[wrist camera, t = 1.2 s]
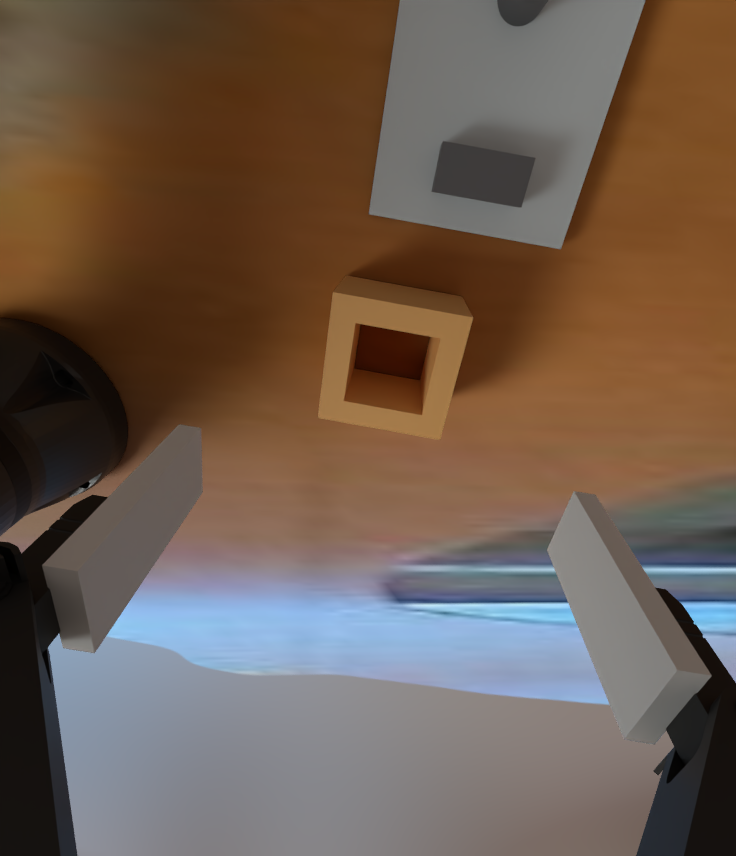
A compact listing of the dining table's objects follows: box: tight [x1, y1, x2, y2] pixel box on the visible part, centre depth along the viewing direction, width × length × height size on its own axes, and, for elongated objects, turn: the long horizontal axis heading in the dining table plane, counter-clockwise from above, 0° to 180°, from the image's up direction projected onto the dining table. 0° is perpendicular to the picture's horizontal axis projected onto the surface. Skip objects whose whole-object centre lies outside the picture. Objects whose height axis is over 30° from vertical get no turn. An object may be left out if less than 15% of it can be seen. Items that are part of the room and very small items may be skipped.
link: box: [318, 275, 473, 440], centre depth 30 cm, size 8×8×6 cm
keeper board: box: [369, 0, 645, 249], centre depth 21 cm, size 12×16×8 cm
